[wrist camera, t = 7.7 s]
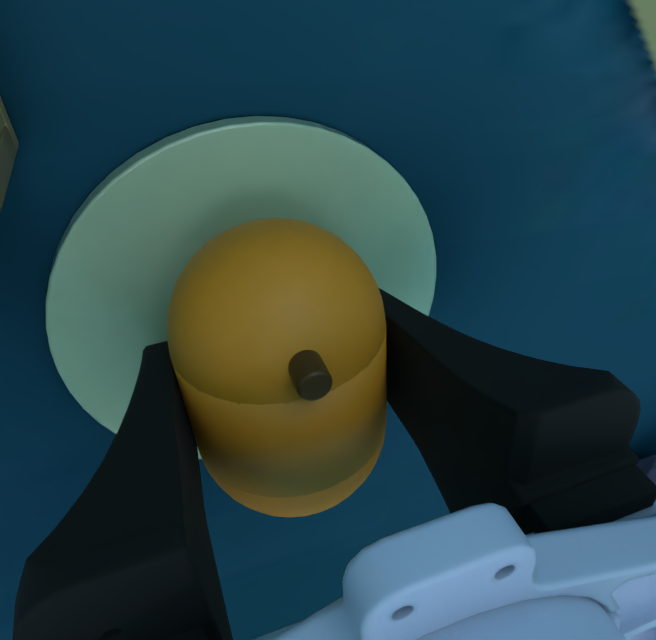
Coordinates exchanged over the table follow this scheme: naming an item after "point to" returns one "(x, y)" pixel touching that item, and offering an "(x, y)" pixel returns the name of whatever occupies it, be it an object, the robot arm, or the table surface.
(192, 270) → the orange rounded piece
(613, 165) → the table surface
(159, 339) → the saucer
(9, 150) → the wooden tray
